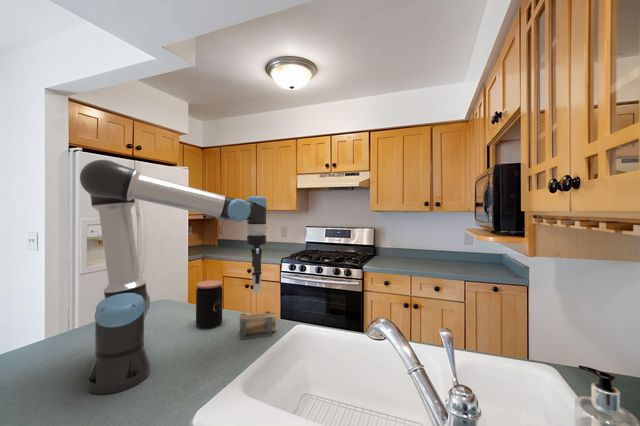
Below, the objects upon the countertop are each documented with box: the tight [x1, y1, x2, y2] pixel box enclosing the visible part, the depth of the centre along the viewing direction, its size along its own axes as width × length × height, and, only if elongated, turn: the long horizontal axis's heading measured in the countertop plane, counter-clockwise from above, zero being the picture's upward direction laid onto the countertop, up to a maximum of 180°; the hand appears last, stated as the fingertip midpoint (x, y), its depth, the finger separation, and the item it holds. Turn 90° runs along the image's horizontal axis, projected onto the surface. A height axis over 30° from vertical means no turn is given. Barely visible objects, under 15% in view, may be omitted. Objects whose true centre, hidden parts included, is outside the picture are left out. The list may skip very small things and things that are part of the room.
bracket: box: [239, 310, 273, 341], centre depth 114 cm, size 9×12×7 cm
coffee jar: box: [195, 279, 223, 330], centre depth 122 cm, size 11×11×18 cm
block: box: [239, 312, 277, 334], centre depth 114 cm, size 4×14×6 cm, turn 106°
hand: (256, 287), depth 114 cm, fingers open, 13 cm apart
